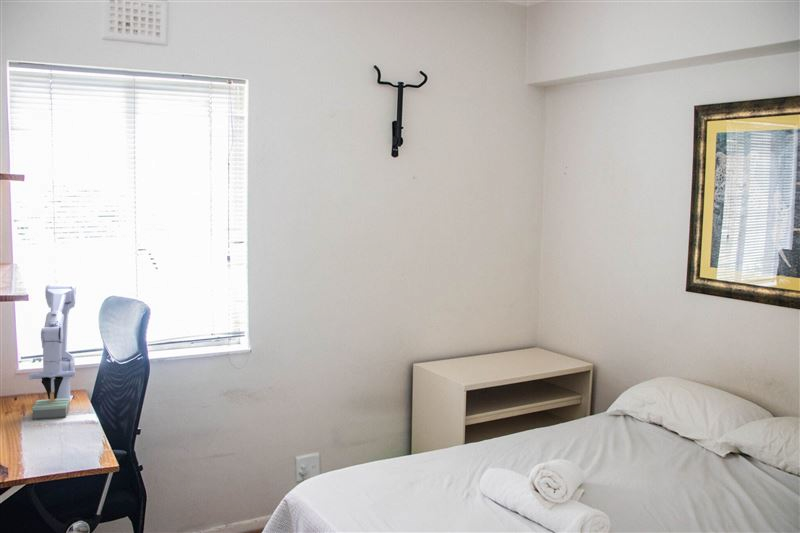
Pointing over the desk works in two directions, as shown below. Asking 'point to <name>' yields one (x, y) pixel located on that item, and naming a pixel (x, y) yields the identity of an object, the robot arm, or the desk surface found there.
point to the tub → (51, 413)
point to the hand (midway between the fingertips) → (52, 398)
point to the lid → (51, 403)
